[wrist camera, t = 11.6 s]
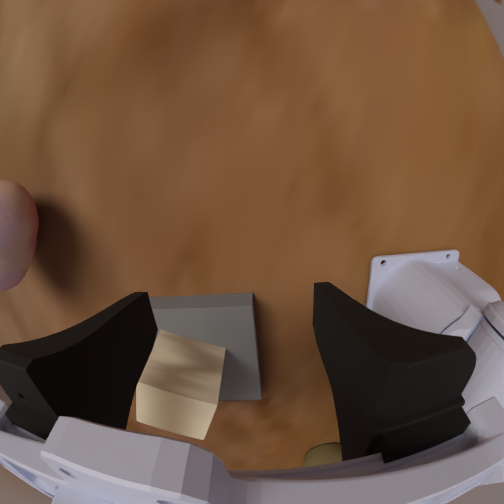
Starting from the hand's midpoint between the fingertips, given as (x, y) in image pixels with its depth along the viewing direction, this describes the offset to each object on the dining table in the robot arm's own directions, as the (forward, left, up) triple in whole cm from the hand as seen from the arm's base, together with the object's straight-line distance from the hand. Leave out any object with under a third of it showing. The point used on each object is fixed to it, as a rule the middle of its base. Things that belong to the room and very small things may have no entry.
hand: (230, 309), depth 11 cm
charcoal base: (+5, +10, -10) cm, 15 cm away
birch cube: (+6, +10, -8) cm, 14 cm away
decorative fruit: (+20, -4, -10) cm, 23 cm away
